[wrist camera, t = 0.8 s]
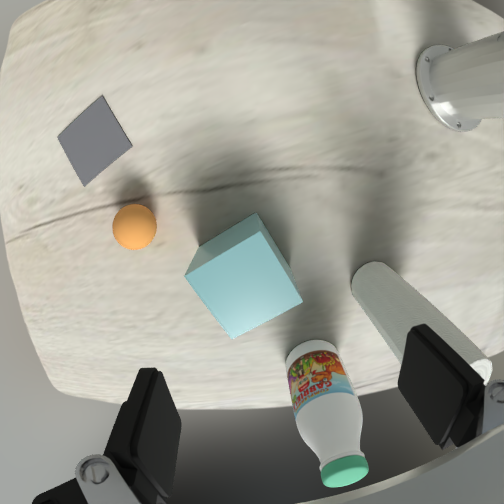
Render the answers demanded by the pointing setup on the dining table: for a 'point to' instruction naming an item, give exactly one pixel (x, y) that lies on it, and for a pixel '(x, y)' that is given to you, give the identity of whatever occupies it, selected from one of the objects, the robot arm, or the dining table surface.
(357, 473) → the milk bottle
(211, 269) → the light teal cube-like block
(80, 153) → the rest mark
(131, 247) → the ball
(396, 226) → the dining table surface
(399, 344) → the paper towel roll
